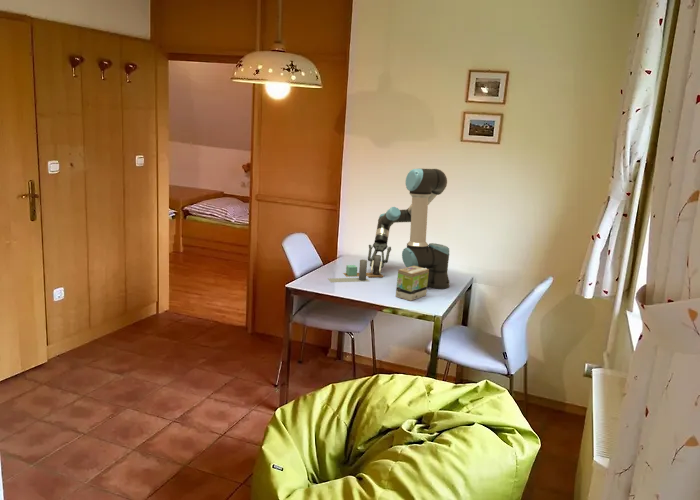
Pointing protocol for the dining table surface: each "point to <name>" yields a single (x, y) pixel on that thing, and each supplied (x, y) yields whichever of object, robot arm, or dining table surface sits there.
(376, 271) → the tan and grey stand
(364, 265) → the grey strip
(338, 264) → the dining table surface
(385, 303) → the dining table surface
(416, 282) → the tea box
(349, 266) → the teal block
